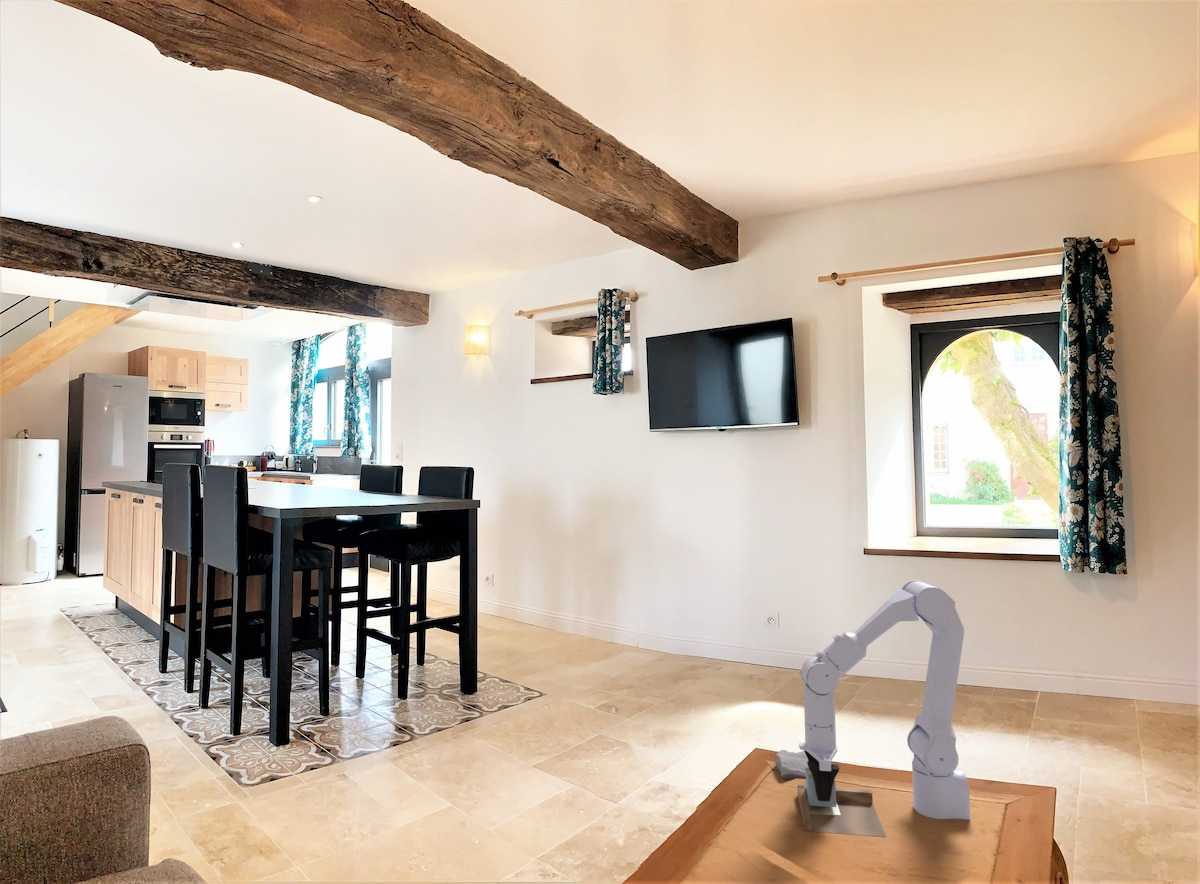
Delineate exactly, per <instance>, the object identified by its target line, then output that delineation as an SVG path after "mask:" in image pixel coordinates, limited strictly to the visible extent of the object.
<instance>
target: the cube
mask: <svg viewBox="0 0 1200 884" xmlns="http://www.w3.org/2000/svg"><path fill="white" fill-rule="evenodd" d="M805 772H806V777H805V786H806V795H807V799H808V804H809V805H810V806H826V807H836V788H837V786H836V778H835V779H834V782H833V787H832V792H831V797H830V801H818V798H817V794H816V789H815V783H814V778H813V776H812V773H811V771H810V769H809V768H805Z"/></svg>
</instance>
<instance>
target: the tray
mask: <svg viewBox="0 0 1200 884" xmlns="http://www.w3.org/2000/svg"><path fill="white" fill-rule="evenodd" d="M797 799H798V803H799V808H800V814H801V817H802V825H803V829H804V832H812V833H815V832H816V833H824V834H825V833H828V834H837V835H838V834H841V835H853V836H855V835H856V836H866V837H879V838H887V834H886V832H885V830H884V828H883V825H882V823H881V820H880V818H879V815H878V813H877V811H876V808H875V805H874V804H873V802H874V801H873V791H872V790H871V789H858V788H857V789H856V788H842V787H841V788H840V787H836V807H826V806H810V805H809V804H808V799H807V795H806V785H797Z"/></svg>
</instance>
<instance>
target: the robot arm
mask: <svg viewBox="0 0 1200 884" xmlns="http://www.w3.org/2000/svg"><path fill="white" fill-rule="evenodd" d="M919 618H920V619H921V620H922V621H923V623H924V624H925V625H926V626H927V627H928V628H929V630H930V631H931V632H932V636H931V644H930V651H929V658H928V664H927V671H926V678H925V685H924V690H923V691H924V692H923V698H922V704H921V706H922V707H921V711H920V713H919V714H918V715H916V717H915V718H914V724H913V726H912V728H911V729H910V730H909V732H908V734H907V738H906V739H907V740H906V742H907V746H908V748H909V750H910V752H911V753H912V754H913V758H912V762H911V764H912V765H911V766H912V767H911V769H912V771H911V772H912V773H911V774H912V798H913V799H912V800H913V802H912V803H913V809H914V810H915V811H916V812H917V813H918V814H920V815H922V816H924V817H926V818H927V817H928V818H929V819H930V818H931V819H935V820H936V819H937V820H950V819H953V820H954V819H955V820H965V821H966V820H971V807H970V806H971V805H970V804H971V803H970V788H969V787H970V786H969V782H968V778H967V776H966V772H965V771H964V770H962V769H958V768H957V767H958V765H959V754H958V751H957V748H956V743H957V742H956V741H957V736H956V733H955V731H954V728H953V727H954V726H953V724H952V720H953V712H954V707H955V706H954V704H955V699H956V690H957V684H958V678H959V670H960V664H961V656H962V651H963V644H964V637H965V636H964V635H965V628H964V626H963V623H962V621H961V618H960V616H959V613H958V611H957V609H956V601H955V600H954V599H953V598H952V597H951V596H950V595H949V594H948V593H947V592H946V591H945V590H943V589H942V588H940V587H936V586H934V585H931V584H928V583H927V582H925V581H923V580H921V579H920V580H919V579H913V580H909V581H908V582H906V583H904V585H903V586H902V588H898V589H897V590H894V592H893V593H892V595H891V596H890V597H889V598H888V599H887V600H886V602H884V603H883V604H882V605H881V606H880V607H879V608H878V609H877V610H876V611H874V612H873V614H872V615H871V616H869V617H868V619H866V621H865V622H863V623H862V624H861V625H860V626H859V627H858V628H857V629H856V630H855V631H854V632H845V631H844V632H842V633H841V634H839V633H836V634H835V635H834V636H833V637H832V638H833V641H832V642H831V643H830V644H828V645H827V646H826V647H825V648H824V649H823V650H822V651H821V652H820V651H817V652H815V654H814V655H815V656H814V657H809V658H808V659H806V660H805V661H804V662H803V664H802V667H801V669H800V670H799V674H800V677H801V679H802V680H803V682H804V687H803V688H804V690H803V691H804V692H803V693H804V697H803V703H804V704H803V706H804V707H803V708H804V709H803V710H804V712H803V713H804V738H805V739H804V742H802V741H801V742H799V743H798V746H799V747H798V748H799V750H801V751H804V752H805V754H806V756H807V758H808V760H809V761H807V764H808V767H809V769H810V771H811V773H812V776H813V778H814V783H815V789H816V794H817V798H818V801H830V797H831V792H832V787H833V782H834V779H835V780H836V777H837V775H838V773H839V771H840V767H839V764H835V763H834V764H831V763H832V760H833V759H834V758H835V756H836V755H837V752H838V746H837V739H836V738H837V735H836V734H837V732H836V704H835V702H836V701H835V690H836V689H837V687H838V684H839V680H840V678H842V677H843V676H844V675H845V674H847V673H848V672H849V671H850V670H852V668H854V667H855V666H856V665H857V664H858V663H860V661H862V660H863V659H864V658H865V657H866V656H867V648H868V646H869V645H870V644H872V643H873V642H874V641H876V640H877V639H878V638H880V637H881V636H882V635H883V634H885V633H887V631H888V630H890V629H892V628H893V627H894V626H895V625H897V624H898V623H899V622H918V621H919V620H920V619H919Z"/></svg>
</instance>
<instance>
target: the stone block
mask: <svg viewBox="0 0 1200 884" xmlns="http://www.w3.org/2000/svg"><path fill="white" fill-rule="evenodd" d="M777 753H778V754H777ZM777 753H776V754H775V757H774V758H775V759H774V760H775V761H774V762H775V767H776V768H777V770H778V771H779V772H780V776H781V778H782V779H786V780H795V779H798V778H806V772H805V768H809V767H808V764H807V761H809V760H808V758H807V756H806V754H805V752H804V750H801V751H798V752H793V751H791V752H790V751H788V750H785V749H782V750H780V751H778V752H777ZM831 764H832V762H831Z"/></svg>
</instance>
